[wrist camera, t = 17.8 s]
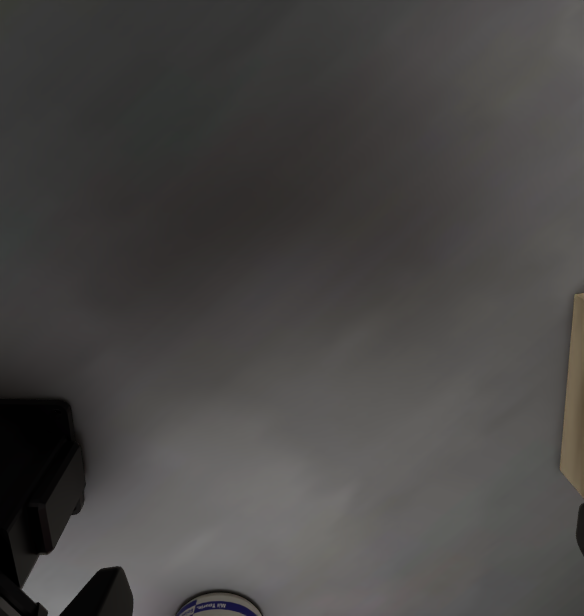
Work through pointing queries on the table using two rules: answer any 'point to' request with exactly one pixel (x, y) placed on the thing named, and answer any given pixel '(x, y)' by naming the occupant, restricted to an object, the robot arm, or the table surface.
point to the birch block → (575, 403)
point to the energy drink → (219, 606)
